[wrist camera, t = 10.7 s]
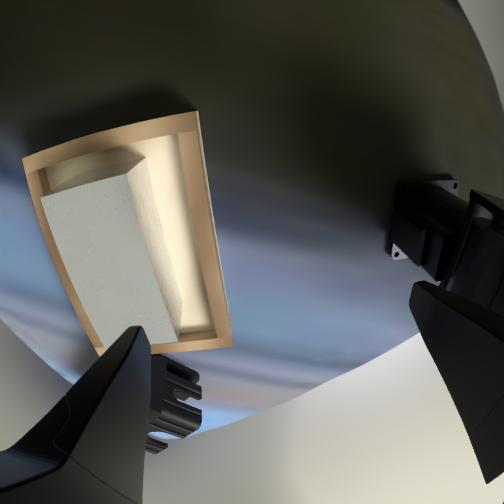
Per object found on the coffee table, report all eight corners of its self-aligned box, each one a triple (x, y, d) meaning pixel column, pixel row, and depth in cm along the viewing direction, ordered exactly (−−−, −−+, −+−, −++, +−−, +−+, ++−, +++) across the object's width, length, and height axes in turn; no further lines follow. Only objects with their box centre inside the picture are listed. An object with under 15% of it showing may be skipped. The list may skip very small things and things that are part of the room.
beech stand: (198, 110, 17) (194, 111, 14) (231, 320, 24) (233, 346, 22) (45, 149, 16) (22, 158, 14) (107, 332, 24) (99, 356, 21)
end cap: (139, 337, 24) (125, 399, 19) (204, 371, 27) (205, 431, 21) (100, 385, 27) (87, 437, 21) (155, 411, 30) (151, 461, 24)
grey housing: (183, 301, 21) (178, 341, 17) (118, 309, 20) (104, 348, 17) (146, 157, 16) (126, 173, 12) (72, 177, 16) (40, 197, 12)
